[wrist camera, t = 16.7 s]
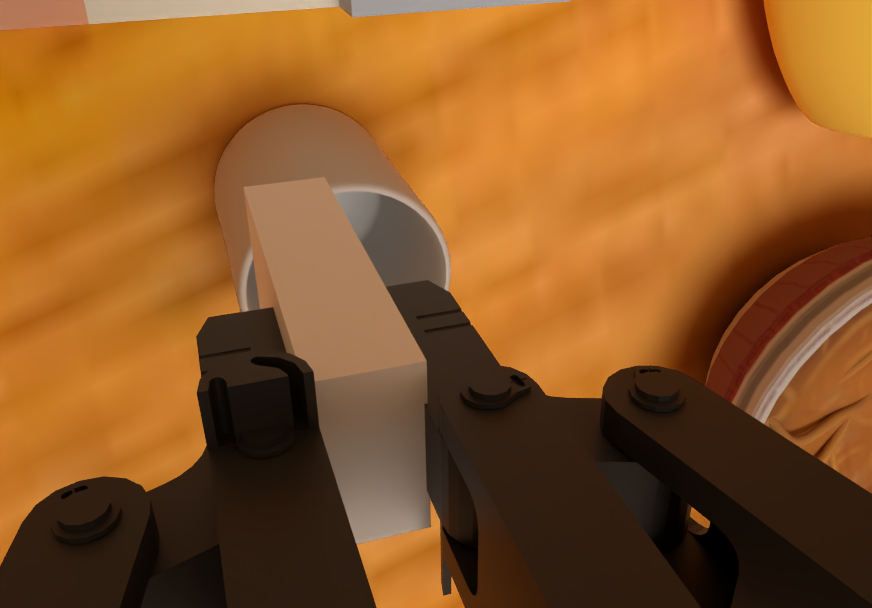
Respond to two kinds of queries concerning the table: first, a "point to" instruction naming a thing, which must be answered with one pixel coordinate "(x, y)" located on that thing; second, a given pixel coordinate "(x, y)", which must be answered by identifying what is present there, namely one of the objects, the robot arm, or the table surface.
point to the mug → (349, 181)
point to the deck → (206, 9)
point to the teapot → (826, 59)
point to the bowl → (808, 357)
